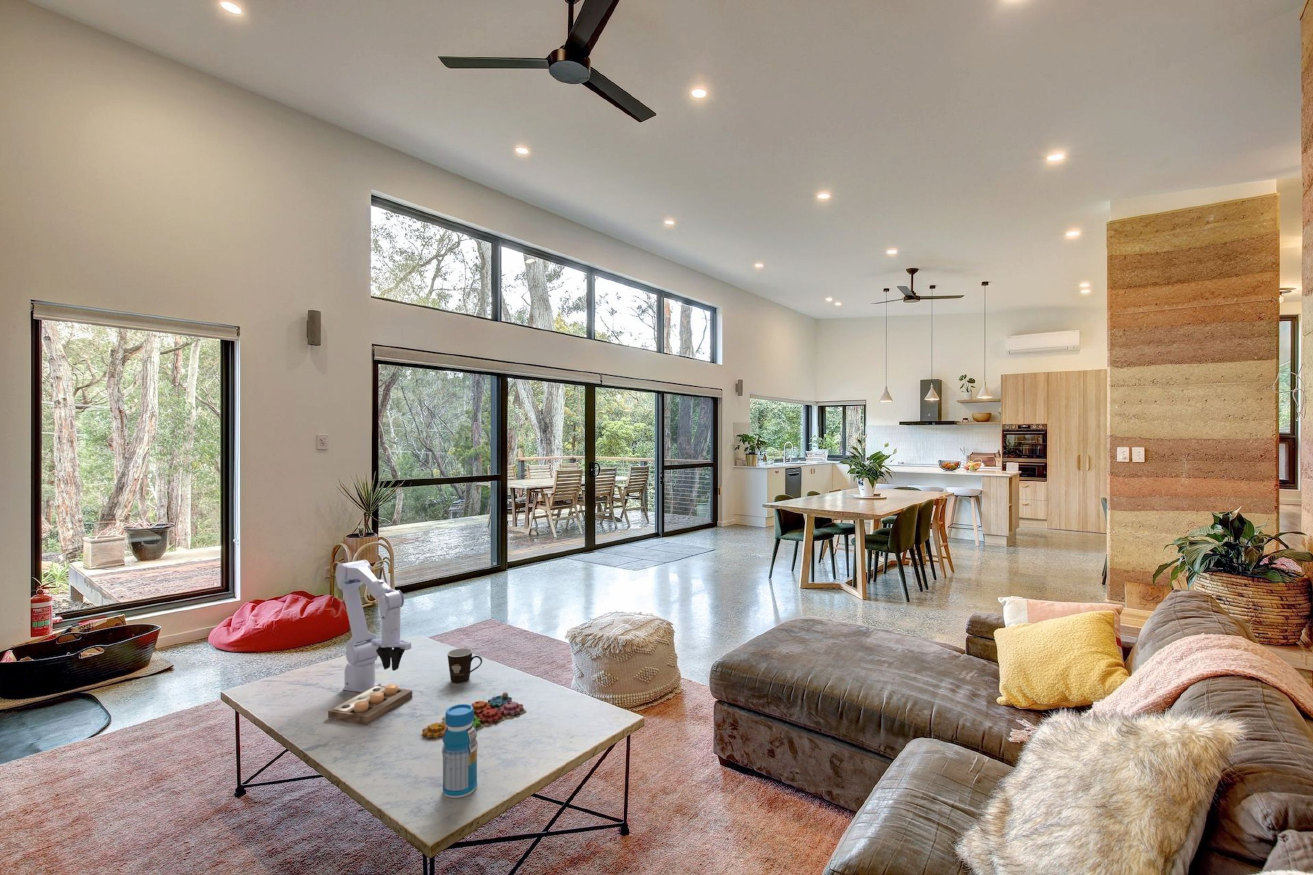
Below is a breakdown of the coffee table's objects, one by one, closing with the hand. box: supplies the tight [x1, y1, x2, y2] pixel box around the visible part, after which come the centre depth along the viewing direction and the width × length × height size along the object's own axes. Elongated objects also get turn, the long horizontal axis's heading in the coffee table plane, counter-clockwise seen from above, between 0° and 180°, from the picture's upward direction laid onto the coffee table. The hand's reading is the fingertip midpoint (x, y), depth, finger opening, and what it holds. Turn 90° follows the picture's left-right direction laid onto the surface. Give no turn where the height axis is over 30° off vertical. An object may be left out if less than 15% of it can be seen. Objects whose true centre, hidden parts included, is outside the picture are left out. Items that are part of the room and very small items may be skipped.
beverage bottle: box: [441, 703, 479, 799], centre depth 149 cm, size 8×8×20 cm
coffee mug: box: [446, 647, 483, 685], centre depth 215 cm, size 12×9×10 cm
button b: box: [370, 692, 384, 704], centre depth 193 cm, size 4×4×2 cm
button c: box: [384, 683, 399, 696], centre depth 199 cm, size 4×4×2 cm
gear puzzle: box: [421, 691, 527, 739], centre depth 186 cm, size 31×16×4 cm, turn 133°
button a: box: [354, 701, 369, 713], centre depth 187 cm, size 4×4×2 cm
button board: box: [327, 685, 413, 726], centre depth 194 cm, size 15×20×3 cm
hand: (391, 668), depth 199 cm, fingers open, 3 cm apart
